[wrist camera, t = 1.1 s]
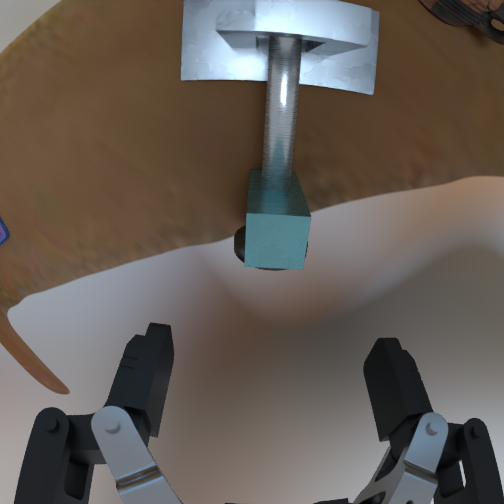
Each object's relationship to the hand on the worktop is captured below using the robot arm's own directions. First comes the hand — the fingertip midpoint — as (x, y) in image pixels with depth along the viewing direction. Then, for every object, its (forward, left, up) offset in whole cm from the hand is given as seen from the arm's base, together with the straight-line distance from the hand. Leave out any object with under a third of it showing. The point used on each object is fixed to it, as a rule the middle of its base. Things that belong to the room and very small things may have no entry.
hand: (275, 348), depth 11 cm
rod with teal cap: (-1, -6, -18) cm, 20 cm away
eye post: (-1, -13, -19) cm, 23 cm away
